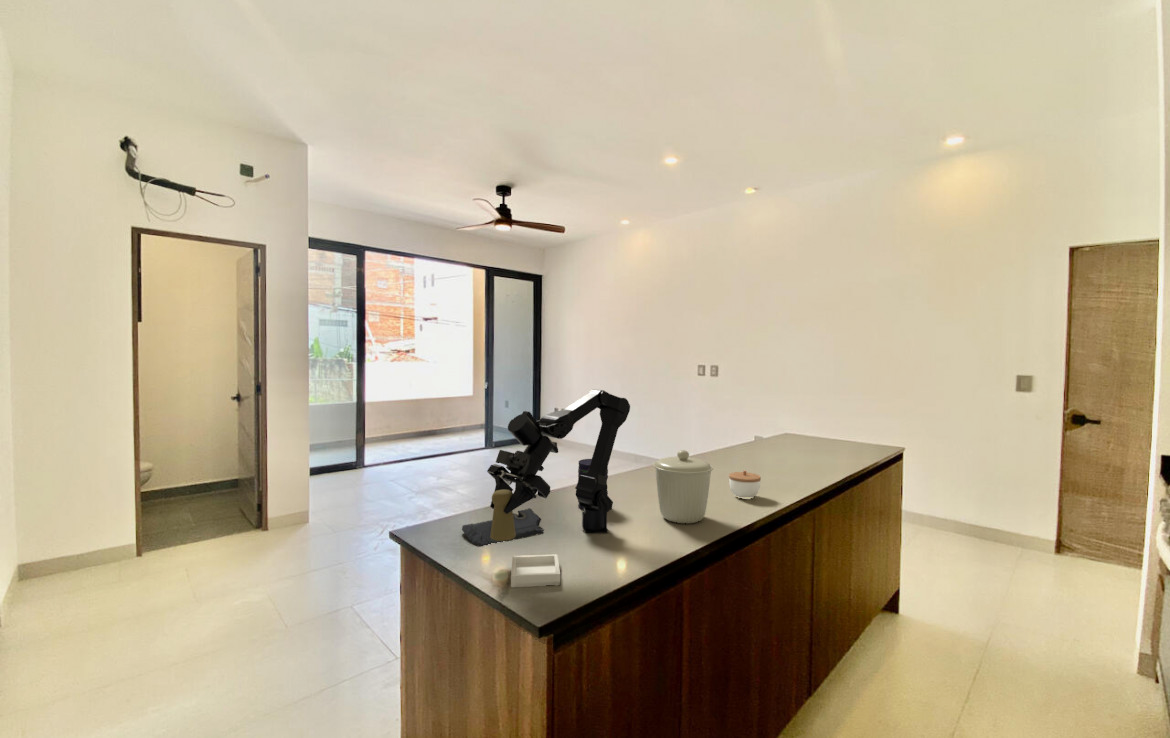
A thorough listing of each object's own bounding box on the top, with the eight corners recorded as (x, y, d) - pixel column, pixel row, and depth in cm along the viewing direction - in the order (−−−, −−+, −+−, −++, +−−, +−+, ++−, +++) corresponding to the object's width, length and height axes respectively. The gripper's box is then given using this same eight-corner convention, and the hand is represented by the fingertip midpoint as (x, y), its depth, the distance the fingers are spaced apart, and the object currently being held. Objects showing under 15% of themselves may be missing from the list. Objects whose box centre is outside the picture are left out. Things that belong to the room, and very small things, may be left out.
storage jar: (572, 508, 162) (572, 462, 161) (587, 500, 170) (588, 457, 169) (598, 513, 156) (598, 466, 156) (613, 505, 165) (613, 460, 164)
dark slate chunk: (455, 532, 140) (455, 515, 140) (525, 518, 153) (525, 503, 152) (475, 550, 128) (475, 532, 128) (550, 533, 140) (550, 517, 140)
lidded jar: (739, 491, 183) (740, 466, 183) (766, 497, 175) (766, 471, 174) (722, 496, 176) (722, 470, 176) (749, 503, 168) (749, 476, 167)
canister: (643, 512, 158) (643, 446, 157) (693, 507, 164) (693, 443, 163) (669, 531, 141) (670, 458, 140) (724, 525, 146) (725, 454, 146)
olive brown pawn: (489, 532, 121) (489, 487, 120) (514, 530, 122) (514, 486, 122) (490, 541, 115) (490, 495, 114) (516, 539, 116) (516, 493, 116)
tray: (557, 564, 118) (557, 554, 118) (560, 585, 108) (560, 573, 108) (512, 566, 117) (512, 556, 117) (510, 587, 106) (510, 576, 106)
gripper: (492, 432, 127) (455, 483, 119) (541, 442, 114) (502, 500, 106) (517, 458, 133) (483, 508, 125) (565, 469, 120) (530, 526, 112)
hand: (498, 510), depth 117 cm, fingers closed on olive brown pawn, 5 cm apart
